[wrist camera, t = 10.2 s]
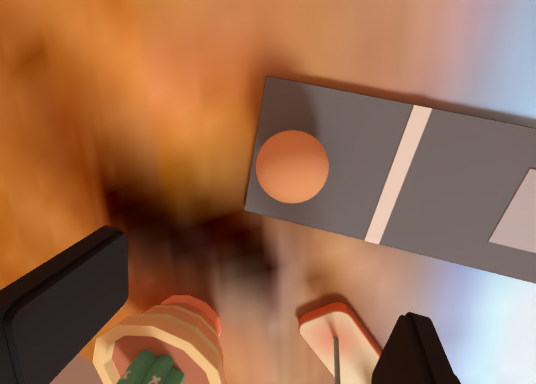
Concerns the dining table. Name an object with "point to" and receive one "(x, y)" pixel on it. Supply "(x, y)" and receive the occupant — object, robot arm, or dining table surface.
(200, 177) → the dining table surface
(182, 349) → the potted cactus
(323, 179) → the ball
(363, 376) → the crank mechanism
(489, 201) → the mat
